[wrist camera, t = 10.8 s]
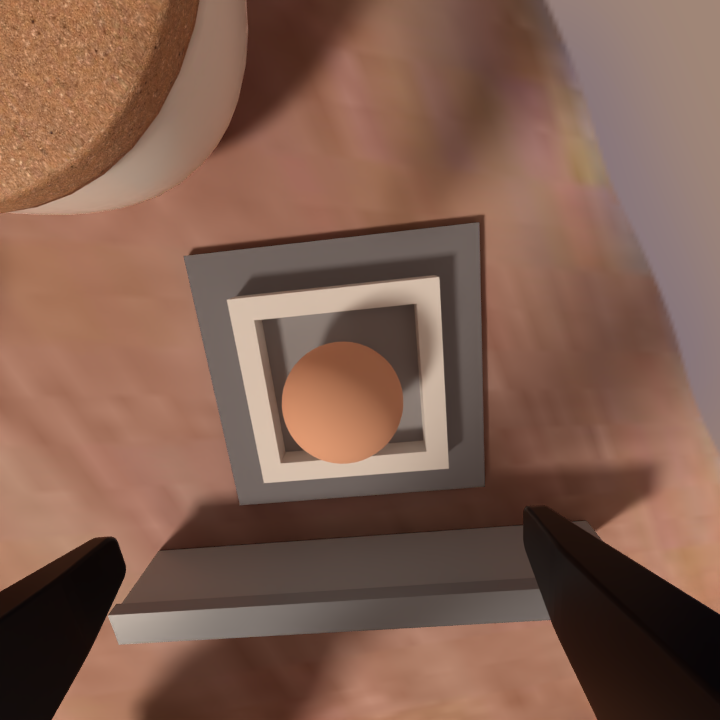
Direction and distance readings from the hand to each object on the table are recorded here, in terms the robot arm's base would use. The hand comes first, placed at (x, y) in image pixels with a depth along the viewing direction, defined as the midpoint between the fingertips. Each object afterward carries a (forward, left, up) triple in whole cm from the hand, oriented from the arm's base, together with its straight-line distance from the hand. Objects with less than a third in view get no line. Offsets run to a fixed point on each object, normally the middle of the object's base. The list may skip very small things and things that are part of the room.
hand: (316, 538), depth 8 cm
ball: (0, 0, -8) cm, 8 cm away
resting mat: (0, 0, -11) cm, 11 cm away
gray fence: (-10, 0, -11) cm, 15 cm away
